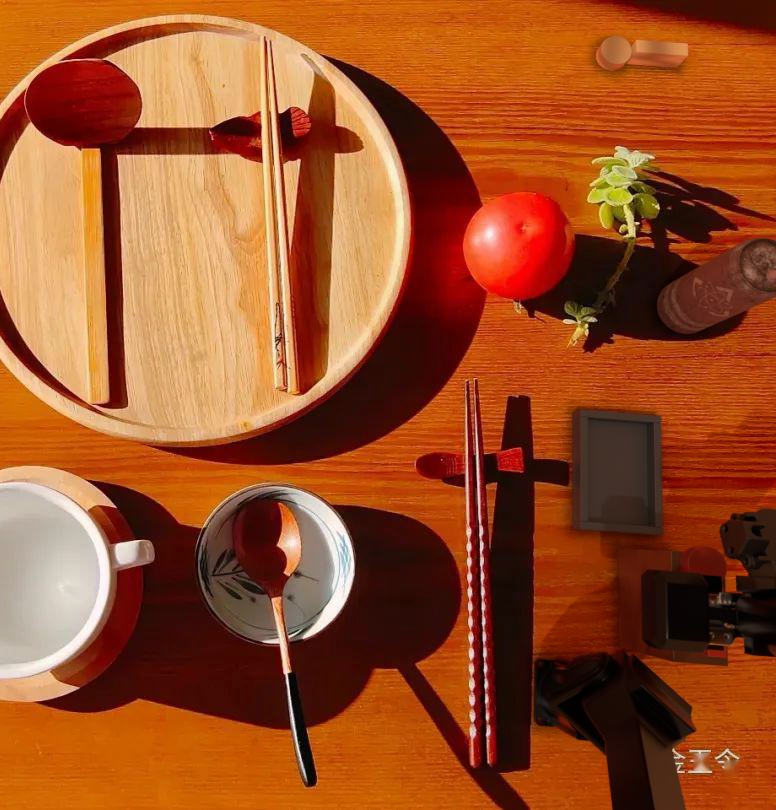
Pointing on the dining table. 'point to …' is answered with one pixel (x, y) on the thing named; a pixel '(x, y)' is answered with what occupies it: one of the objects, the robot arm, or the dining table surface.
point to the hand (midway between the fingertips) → (700, 608)
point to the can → (720, 287)
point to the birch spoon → (640, 53)
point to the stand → (629, 604)
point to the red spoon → (705, 573)
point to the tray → (617, 472)
